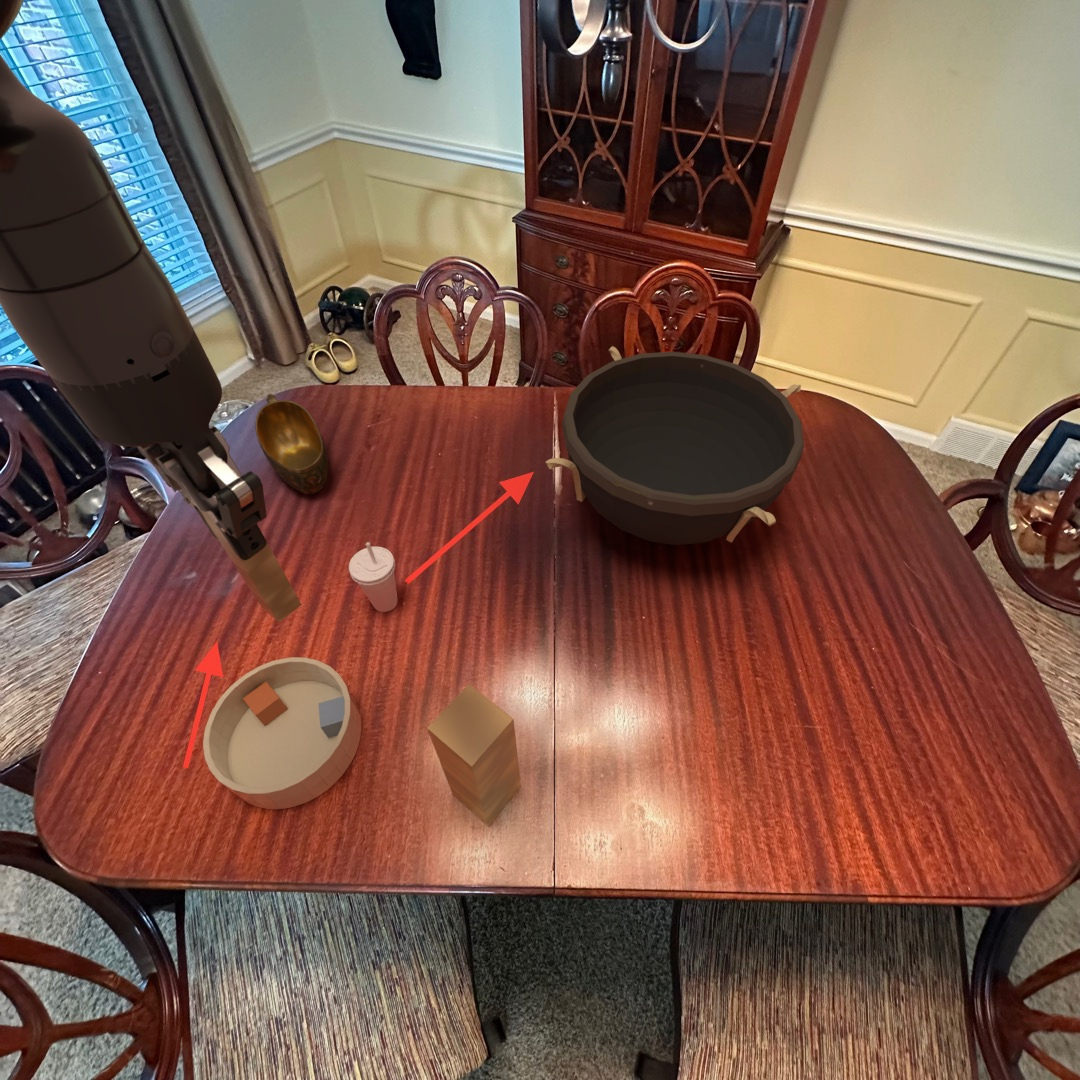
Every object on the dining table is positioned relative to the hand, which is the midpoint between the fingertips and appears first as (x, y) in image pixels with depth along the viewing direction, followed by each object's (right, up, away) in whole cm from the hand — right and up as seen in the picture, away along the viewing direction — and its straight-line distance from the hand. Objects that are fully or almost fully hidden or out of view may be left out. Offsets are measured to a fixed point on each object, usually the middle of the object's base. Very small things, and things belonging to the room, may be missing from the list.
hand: (241, 541), depth 46 cm
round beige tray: (-9, -26, +32) cm, 42 cm away
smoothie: (-1, -10, +46) cm, 47 cm away
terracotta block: (-13, -23, +34) cm, 43 cm away
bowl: (+44, +5, +58) cm, 73 cm away
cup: (-21, +14, +66) cm, 71 cm away
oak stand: (+16, -31, +28) cm, 45 cm away
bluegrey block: (-4, -24, +33) cm, 41 cm away
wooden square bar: (0, -6, +7) cm, 9 cm away
